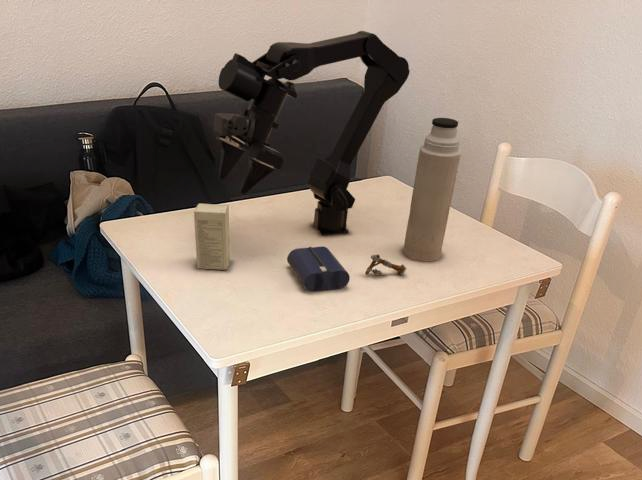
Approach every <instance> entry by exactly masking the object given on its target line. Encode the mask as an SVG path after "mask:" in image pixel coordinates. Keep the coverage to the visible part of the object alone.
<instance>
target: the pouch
mask: <svg viewBox="0 0 642 480" xmlns="http://www.w3.org/2000/svg"><path fill="white" fill-rule="evenodd" d="M286 260H287V263H288V265H289V266H290V268H291V269H292V271H293V272H294V274H295V275H296V276H297V278H298V280H299V281H300V283H301V284H302V285H303V287H304V289H305V290H306V291H308V292H309V293H310V292H311V293H315V292H324V291H333V290H334V291H335V290H342V289H344V288H345V287H347V285H348V284H349V283H350V277H351V276H350V274H349V272H348V271H347V269H345V268H344V266H343V265H342V264H341V262H340V261H339V260H338V258H337V257H336V256H335V255H334V254H333V253H332V251H331V250H330V249H329V248H328V247H326V246H323V245H322V246H313V247H312V246H308V247H300V248H299V247H298V248H294V249H292V250H290V251H289V253H288V255H287V258H286Z"/></svg>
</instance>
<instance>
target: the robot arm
mask: <svg viewBox="0 0 642 480" xmlns="http://www.w3.org/2000/svg"><path fill="white" fill-rule="evenodd" d="M356 58H359V59H360V61H361V62H362V64H363V65H364V66H366V71H365V74H364V82H363V92H362V94H361V96H360V97H359V100H358V102H357V104H356V105H355V107H354V109H353V111H352V113H351V115H350V117H349V118H348V121H347V122H346V125H345V127H344V128H343V130H342V132H341V134H340V135H339V137H338V140H337V141H336V143H335V145H334V147H333V150H332V151H331V153H330V154H329V155H328V156H327V157H325V158H324V159H323V158H321V157H318V158H317V159H316V160H315V163H314V166H313V167H312V169H311V170H310V172H309V173H308V175H309V178H308V182H307V183H308V187H309V190H310V192H312V195H313V198H314V199H315V200H317V205H316V208H315V209H314V216H313V222H312V225H313V227H314V228H315V229H316V230H317V231H318V232H319V234H320V235H321V236H330V235H342V234H349V229H348V228H347V221H348V212H349V209H352V208H353V207H354V204H355V202H356V198H355V197H354V196H353V194H352V193H351V192H350V191H349V190H348V187H349V184H350V182H351V173H352V172H351V169H352V164H353V163H354V160H355V158H356V157H357V155H358V153H359V151H360V149H361V148H362V146H363V144H364V142H365V140H366V138H367V136H368V134H369V133H370V130H371V129H372V127H373V125H374V123H375V122H376V120H377V117H378V115H379V114H380V112H381V110H382V109H383V106H384V105H385V103H386V102H388V101H389V100H390V99H391V98H393V97H394V96H395V95H397V94H398V93H399V92H400V90H401V89H402V87H403V86H404V84H405V83H406V82H407V80H408V78H409V75H410V71H411V70H410V68H409V67H410V64H409V62H408V60H407V59H406V58H405V57H402V56H400V55H398V54H397V53H396V52H395V51H394V50H392V48H390V47H389V46H388V45H386V44H385V43H384V42H383V41H382V40H381V39H380V38H379V37H378V35H377V34H376V33H371V32H369V31H365V30H360V31H357V32H355V33H351V34H347V35H343V36H337V37H333V38H327V39H324V40H318V41H314V42H310V43H306V42H305V43H304V42H303V43H302V42H291V41H277V42H274V43H272V44H271V45H270V46H269V48H268V50H267V52H265V53H264V54H263V55H260V56H259V57H258V58H256V59H255V60H254V61H250V60H248V59H247V58H246V57H245V56H243V55H241V54H239V53H237V52H236V53H234V54H233V57H232V58H231V59H230V60H228V61H227V62H226V63H225V64H224V66H223V67H222V68H221V69H220V72H219V74H218V87H219V89H220V90H221V91H223V92H226V93H228V94H230V95H232V96H234V97H236V98H238V99H240V100H241V101H244V102H250V101H251V102H250V104H249V106H248V108H247V107H243V108H241V111H240V113H239V114H237V113H224V112H223V113H220V112H217V113H215V114H214V124H213V132H214V133H213V134H214V135H215V136H217V137H215V138H216V142H217V143H218V144H219V147H220V163H219V173H218V179H220V180H225V179H226V177H228V175H229V174H230V173H231V171H232V170H233V168H234V167H235V166H236V164H237V163H238V161H239V160H240V159H241V158H242V157H243V155H244V154H245V152H246V150H247V151H248V155H245V160H246V163H247V168H246V171H245V174H244V175H243V176H244V177H243V180H242V182H241V186H240V189H239V193H241V194H242V195H246V194H247V193H248V192H249V191H251V190H252V189H253V188H254V187H255V186H256V185H257V184H259V183H260V182H261V181H262V180H263V179H264V178H267V176H269V175H270V174H271V173H276V172H277V170H280V171H281V170H282V168H283V166H284V164H285V161H286V160H285V156H284V154H283V153H281V152H279V151H278V150H276V149H275V148H272V147H270V146H271V143H268V139H269V137H270V134H271V132H272V131H273V129H276V130H277V129H278V128H279V126H280V124H279V123H277V122H276V121H277V119H278V117H279V115H280V112H281V111H282V107H283V105H284V103H285V101H286V99H287V97H288V96H289V97H291V98H293V99H297V98H298V94H297V90H296V88H295V83H294V82H291V81H296V80H298V79H300V78H302V77H305V76H307V75H309V74H310V73H311V72H312V71H313V70H315V69H316V68H319V67H322V66H325V65H326V66H327V65H332V64H335V63H339V62H344V61H348V60H353V59H356ZM265 77H269V79H266V78H265ZM281 79H285V80H287V81H285V82H283V81H281ZM243 148H244V149H246V150H244V149H243Z"/></svg>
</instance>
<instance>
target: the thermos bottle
mask: <svg viewBox="0 0 642 480" xmlns="http://www.w3.org/2000/svg"><path fill="white" fill-rule="evenodd" d="M431 124H432V126H431V130H430V133H428V134H426V135H425V138H424V140H423V145H421V146H420V147H419V152H418V157H417V163H416V170H415V176H414V181H413V182H414V183H413V188H412V194H411V199H410V207H409V215H408V220H407V224H406V231H405V237H404V243H403V249H402V252H403V255H404V256H405V257H407V258H409V259H412V260H414V261H417V262H435V261H437V260H439V259H440V258H441V256H442V255H441V254H442V250H443V245H444V239H445V236H446V230H447V225H448V219H449V215H450V210H451V204H452V200H453V196H454V195H453V194H454V190H455V185H456V181H457V175H458V170H459V165H460V160H461V156H462V151H461V149H460V148H459V147H460V145H461V144H460V141H461V140H460V138H459V137H458V136H457V133H458V127H459V121H458V120H456V119H453V118H449V117H435V118H433V119H432V120H431Z"/></svg>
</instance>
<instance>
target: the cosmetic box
mask: <svg viewBox="0 0 642 480" xmlns="http://www.w3.org/2000/svg"><path fill="white" fill-rule="evenodd" d="M229 209H230V208H229V204H217V203H216V204H215V203H198V204H197V205H196V206H195V208H194V210H193V218H194V220H193V221H194V235H195V254H196V255H195V256H196V269H205V270H219V271H221V270H223V271H227V270H228V267H229V265H230V262H231V253H230V252H231V251H230V247H231V246H230V211H229Z"/></svg>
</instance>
